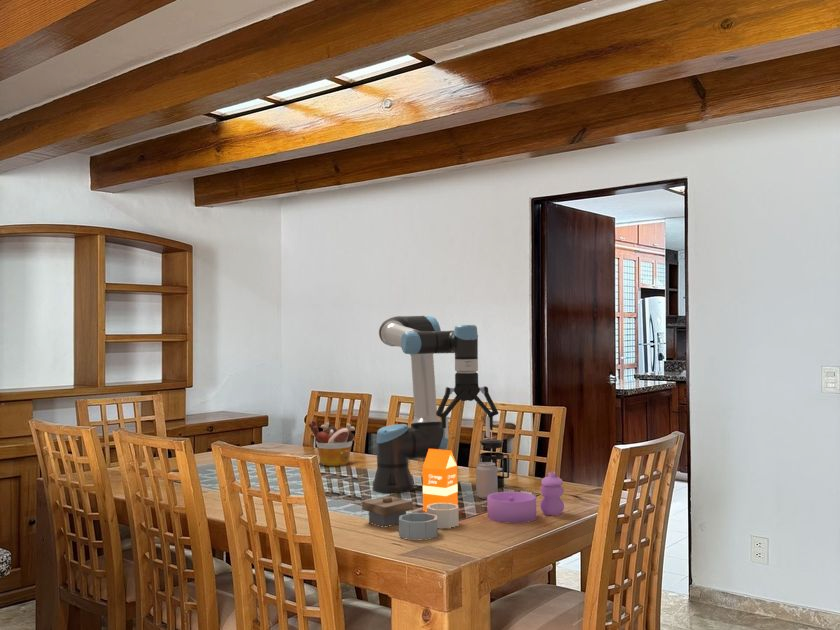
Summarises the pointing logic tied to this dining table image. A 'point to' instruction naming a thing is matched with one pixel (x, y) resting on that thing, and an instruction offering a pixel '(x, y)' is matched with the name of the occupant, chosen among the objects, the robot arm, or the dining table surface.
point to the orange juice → (439, 478)
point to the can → (486, 479)
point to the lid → (387, 505)
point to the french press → (495, 457)
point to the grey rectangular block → (384, 518)
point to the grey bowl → (418, 526)
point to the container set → (526, 502)
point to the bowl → (445, 514)
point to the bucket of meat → (333, 443)
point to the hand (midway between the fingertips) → (467, 437)
